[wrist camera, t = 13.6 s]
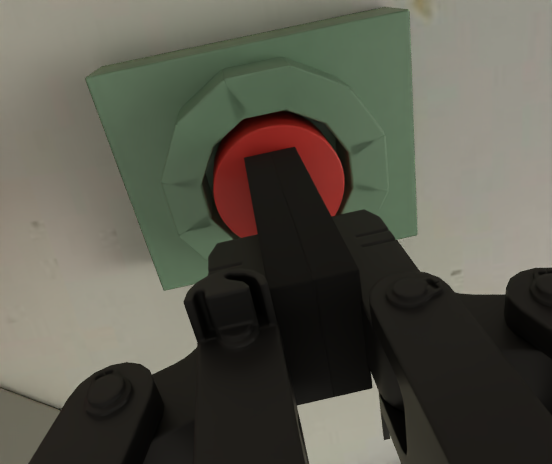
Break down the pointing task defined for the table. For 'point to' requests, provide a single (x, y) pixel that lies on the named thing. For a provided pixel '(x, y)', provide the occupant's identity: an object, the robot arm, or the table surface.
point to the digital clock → (22, 426)
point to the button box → (255, 102)
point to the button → (266, 138)
